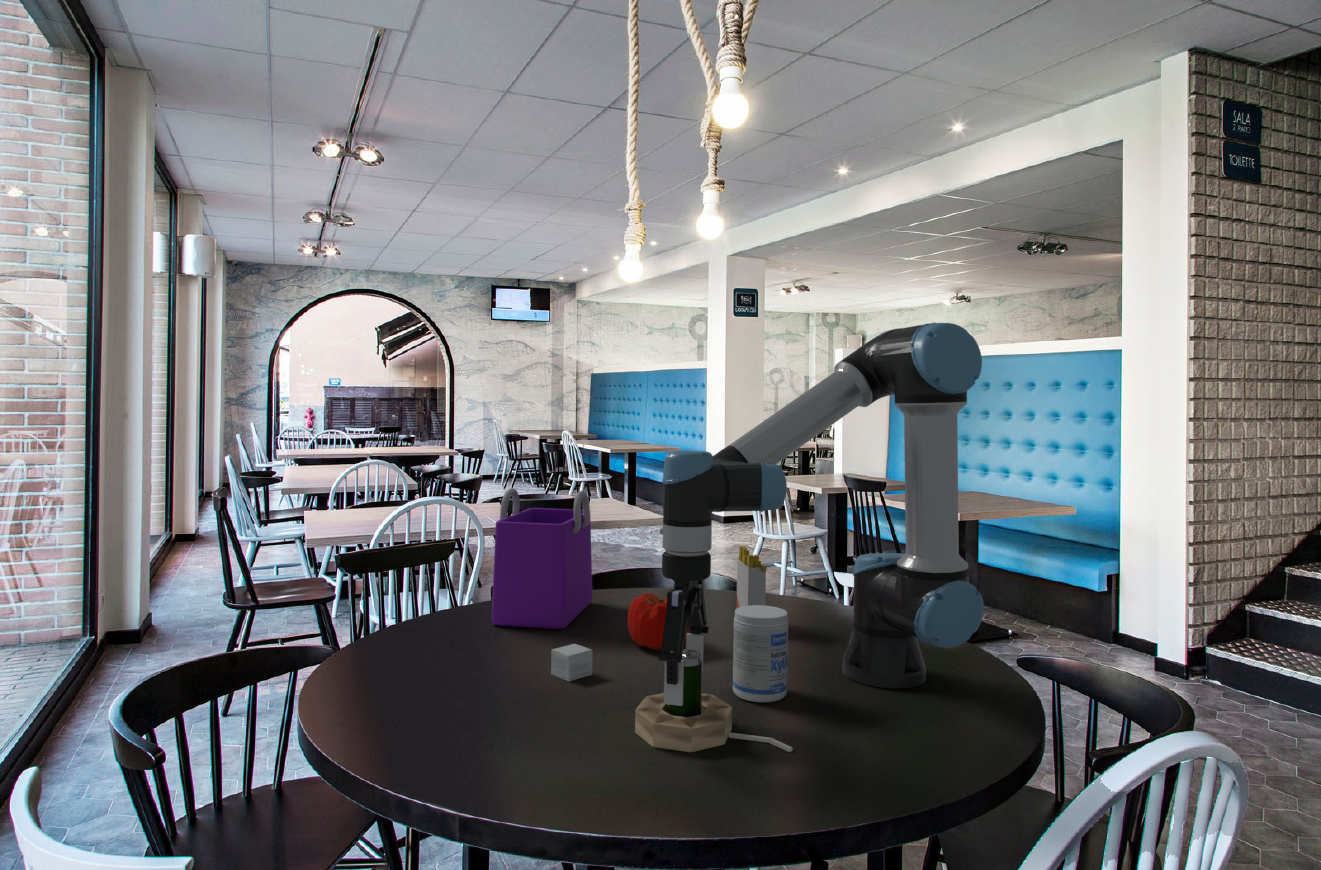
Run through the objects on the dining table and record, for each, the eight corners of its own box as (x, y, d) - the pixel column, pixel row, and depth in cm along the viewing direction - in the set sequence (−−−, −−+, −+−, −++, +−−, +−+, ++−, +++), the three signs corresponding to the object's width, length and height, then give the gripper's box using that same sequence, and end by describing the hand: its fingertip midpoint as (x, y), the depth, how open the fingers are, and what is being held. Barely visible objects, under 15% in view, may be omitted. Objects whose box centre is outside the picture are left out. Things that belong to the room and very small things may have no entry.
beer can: (679, 740, 117) (680, 661, 116) (659, 728, 121) (660, 652, 121) (708, 733, 120) (709, 656, 119) (688, 720, 124) (689, 646, 124)
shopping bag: (587, 631, 173) (588, 496, 171) (488, 631, 172) (489, 495, 171) (593, 599, 201) (594, 484, 200) (508, 599, 200) (509, 483, 199)
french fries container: (754, 620, 183) (756, 544, 183) (767, 633, 173) (768, 553, 172) (736, 620, 183) (737, 544, 182) (746, 633, 172) (748, 553, 171)
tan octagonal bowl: (736, 718, 125) (736, 697, 125) (719, 756, 112) (719, 732, 112) (652, 708, 129) (653, 687, 129) (626, 743, 115) (626, 720, 115)
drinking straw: (794, 743, 116) (794, 740, 116) (792, 752, 113) (792, 749, 113) (729, 735, 119) (729, 732, 119) (725, 743, 116) (725, 740, 116)
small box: (574, 667, 149) (574, 642, 148) (593, 675, 145) (593, 649, 144) (549, 674, 145) (550, 648, 144) (568, 682, 141) (569, 656, 140)
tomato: (617, 650, 159) (618, 599, 159) (642, 633, 172) (643, 586, 171) (679, 659, 154) (680, 607, 154) (701, 641, 166) (702, 592, 166)
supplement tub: (782, 707, 130) (784, 620, 130) (726, 700, 133) (728, 615, 132) (790, 688, 139) (792, 606, 139) (738, 681, 142) (740, 602, 142)
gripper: (682, 537, 132) (680, 660, 133) (639, 565, 108) (637, 715, 109) (725, 539, 130) (723, 665, 131) (691, 569, 106) (689, 722, 107)
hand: (684, 688), depth 120 cm, fingers open, 13 cm apart
